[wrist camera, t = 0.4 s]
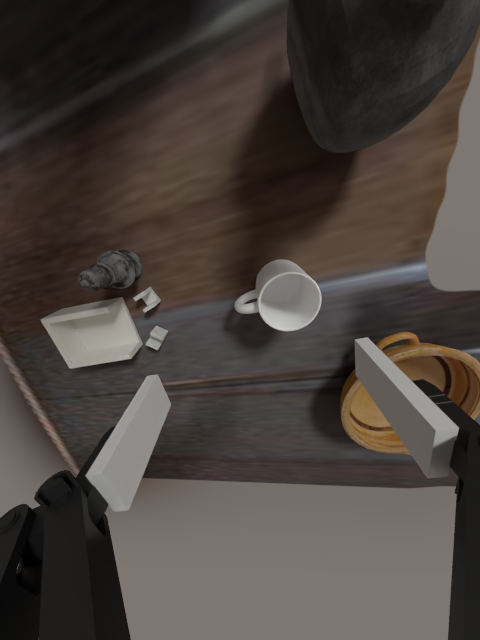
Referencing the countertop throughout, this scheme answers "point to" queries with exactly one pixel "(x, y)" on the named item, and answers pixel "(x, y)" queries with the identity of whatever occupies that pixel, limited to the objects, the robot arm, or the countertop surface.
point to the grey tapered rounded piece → (111, 271)
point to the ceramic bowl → (416, 363)
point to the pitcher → (373, 63)
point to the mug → (282, 296)
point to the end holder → (94, 333)
